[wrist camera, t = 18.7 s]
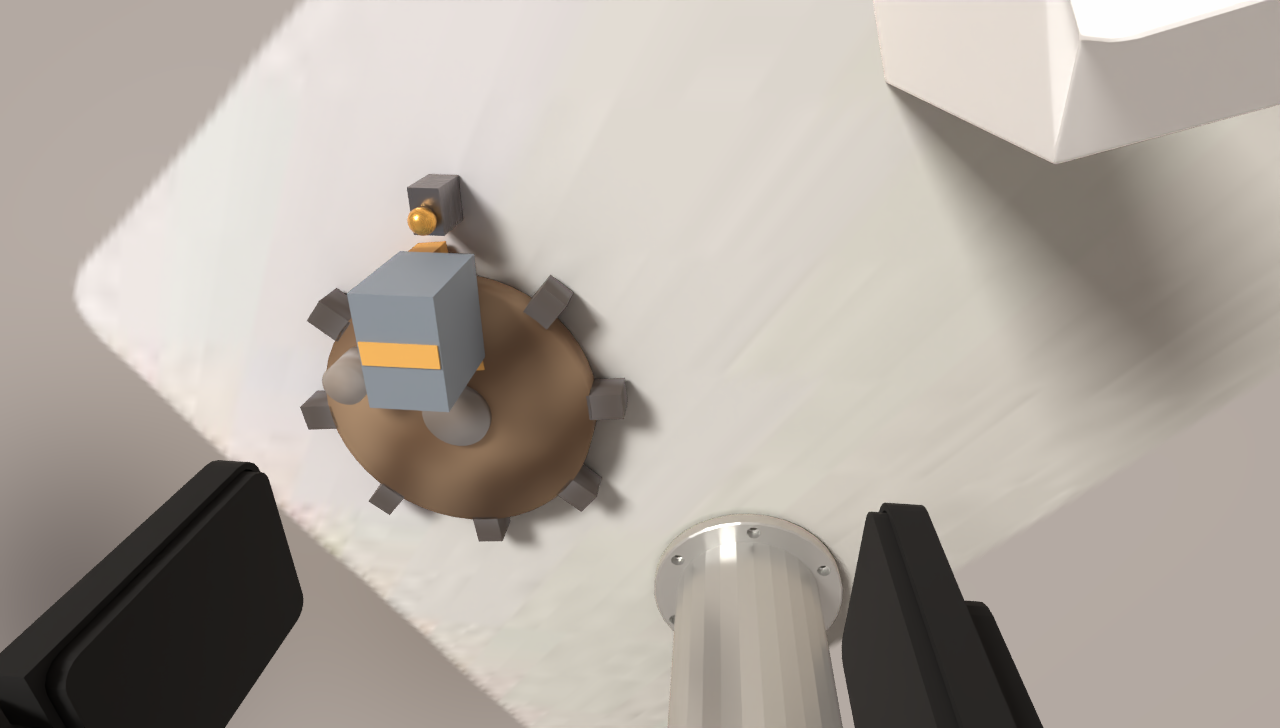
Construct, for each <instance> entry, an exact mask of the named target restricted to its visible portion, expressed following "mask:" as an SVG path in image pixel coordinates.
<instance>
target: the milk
mask: <svg viewBox="0 0 1280 728" xmlns="http://www.w3.org/2000/svg"><path fill="white" fill-rule="evenodd" d="M873 5H874V12H875V18H876V25H877V31H878V38H879V44H880V51H881V57H882V64H883V70H884V77H885V81H886V82H887V83H888V84H890V85H893V86H895V87H897V88H899V89H901V90H903V91H905V92H907V93H909V94H911V95H913V96H915V97H917V98H919V99H921V100H923V101H925V102H927V103H929V104H932V105H934V106H936V107H938V108H940V109H942V110H944V111H946V112H948V113H950V114H952V115H954V116H956V117H958V118H960V119H962V120H964V121H966V122H969V123H971V124H973V125H975V126H977V127H979V128H981V129H983V130H985V131H987V132H989V133H991V134H993V135H995V136H997V137H999V138H1001V139H1003V140H1005V141H1008V142H1010V143H1012V144H1014V145H1016V146H1018V147H1020V148H1022V149H1024V150H1026V151H1028V152H1030V153H1032V154H1034V155H1036V156H1038V157H1040V158H1042V159H1045V160H1047V161H1049V162H1051V163H1053V164H1059V163H1064V162H1067V161H1071V160H1075V159H1078V158H1082V157H1086V156H1090V155H1093V154H1097V153H1101V152H1105V151H1108V150H1112V149H1116V148H1119V147H1123V146H1127V145H1131V144H1134V143H1138V142H1142V141H1145V140H1149V139H1153V138H1157V137H1160V136H1164V135H1168V134H1172V133H1175V132H1179V131H1183V130H1186V129H1190V128H1194V127H1198V126H1201V125H1205V124H1209V123H1213V122H1216V121H1220V120H1224V119H1227V118H1231V117H1235V116H1239V115H1242V114H1246V113H1250V112H1253V111H1257V110H1261V109H1265V108H1268V107H1272V106H1276V105H1280V0H873Z"/></svg>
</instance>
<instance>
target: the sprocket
mask: <svg viewBox="0 0 1280 728" xmlns="http://www.w3.org/2000/svg"><path fill="white" fill-rule="evenodd" d="M408 252H432V253H448V249H447V244H446V241H443V242H429V243H418V244H417V245H415V246H414V247H413V248H412V249H411V250H409V251H408ZM476 277H477V286H478V295H479V304H480V314H481V323H482V332H483V341H484V350H485V358H484V359H483V361H482V362H481V364H480V365H479V367H478V368H477V370H476V372H475V373H474V375H473V376H472V378H471V379H470V381H469V382H468V384H467V385H466V387H465V389H464V390H463V392H462V393H461V395H460V396H459V398H458V399H457V401H456V402H455V404H454V405H453V407H452V409H451V410H450V412H436V411H419V410H401V409H383V408H370V406H369V401H368V396H367V391H366V386H365V381H364V377H363V372H362V367H361V362H360V357H359V352H358V347H357V342H356V337H355V332H354V327H353V322H352V317H351V312H350V307H349V302H348V297H347V295H346V294H344V293H343V292H342V291H340V290H339V289H337V288H336V289H335V290H333V291H332V292H331V293H329V294H328V295H327V296H325V297H324V298H323V299H321V300H320V301H319V302H318V304H317V306H316V307H315V309H314V310H313V312H312V313H311V315H310V317H309V318H308V320H307V321H308V322H309V323H311V324H312V325H314V326H315V327H316V328H318V329H319V330H321V331H322V332H324V333H325V334H327V335H328V336H329V337H331V338H332V339H334V340H335V342H334V344H333V347H332V350H331V353H330V356H329V359H328V365H327V370H326V372H325V373H324V375H323V378H322V383H323V387H324V389H325V391H316V392H315V393H314V394H313V395H312V396H311V397H310V398H309V399H308V400H307V401H306V402H305V403H304V404H303V405H302V406H301V407H300V408H301V410H302V413H303V416H304V419H305V421H306V424H307V427H308V429H309V430H310V429H337V431H338V433H339V434H340V436H341V438H342V440H343V441H344V443H345V445H346V447H347V448H348V449H349V451H350V452H351V453H352V455H353V456H354V457H355V459H356V460H357V461H358V462H359V463H360V464H361V465H362V466H363V468H364V469H365V470H366V471H367V472H368V473H369V474H371V475H372V476H373V477H374V478H375V479H376V480H377V481H378V482H380V483H381V484H380V486H379V487H378V488H377V490H376V491H375V493H374V494H373V496H372V497H371V498H370V500H369V502H370V503H372V504H373V505H375V506H377V507H378V508H380V509H381V510H383V511H384V512H386V513H387V514H389V515H390V514H391V513H392V512H393V510H394V509H395V508H396V507H397V506H398V504H399V503H400V502H401V501H402V500H403V499H406V500H407V501H409V502H412V503H414V504H416V505H418V506H420V507H422V508H425V509H428V510H431V511H434V512H437V513H440V514H444V515H449V516H453V517H459V518H466V519H473V521H474V524H475V528H476V532H477V536H478V540H479V541H503V539H504V536H505V533H506V531H507V528H508V526H509V523H510V517H511V516H516V515H520V514H523V513H526V512H529V511H532V510H534V509H536V508H538V507H540V506H542V505H544V504H546V503H547V502H549V501H550V500H552V499H554V498H555V497H556V496H559V497H561V498H562V499H564V500H565V501H567V502H568V503H569V504H571V505H572V506H574V507H575V508H577V509H578V510H580V511H581V512H582V511H583V510H584V509H585V508H586V507H587V506H588V505H589V504H590V503H591V502H592V501H593V500H594V499H595V498H596V497H597V494H598V490H599V485H600V481H601V477H600V476H599V475H597V474H596V473H595V472H593V471H592V470H590V469H589V468H588V467H586V466H585V465H583V463H584V461H585V459H586V456H587V454H588V451H589V447H590V444H591V440H592V437H593V433H594V429H595V425H596V420H604V419H624V415H625V411H626V406H627V402H628V401H627V393H626V385H625V378H612V379H594V377H593V374H592V371H591V368H590V366H589V363H588V360H587V358H586V357H585V355H584V353H583V351H582V349H581V347H580V345H579V344H578V342H577V341H576V340H575V338H574V337H573V335H572V334H571V333H570V331H569V330H568V329H567V328H566V327H565V326H564V325H563V324H562V322H561V321H560V320H559V319H558V318H557V317H558V316H559V315H560V314H561V312H562V311H563V310H564V309H565V308H566V306H567V305H568V302H569V300H570V298H571V296H572V294H573V292H572V291H571V290H570V289H568V288H567V287H566V286H564V285H563V284H562V283H561V282H559V281H558V280H557V279H556V278H554V277H553V276H552V275H550V276H549V277H548V278H547V280H546V281H545V282H544V283H543V285H542V286H541V287H540V288H539V290H538V291H537V292H536V293H535V294H534V296H533V297H532V298H531V297H530V296H528V295H526V294H524V293H522V292H521V291H519V290H517V289H515V288H513V287H511V286H508V285H506V284H503V283H500V282H498V281H495V280H492V279H488V278H484V277H480V276H476Z"/></svg>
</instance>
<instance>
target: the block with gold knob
mask: <svg viewBox="0 0 1280 728" xmlns="http://www.w3.org/2000/svg"><path fill="white" fill-rule="evenodd" d="M407 191H408V198H409V205H410V213H409V215H408V220H407V221H408V226H409V228H410V229H411V230H412V231H413V232H414V235H422V236H425V235H435V236H445V235H446V234H447V233H448V232H449V231H451V230H452V229H453V228H454V227H455V226H456V225H457V224H459V223H460V222H461V221H462V220H463V213H462V204H461V195H460V186H459V177H458V175H439V174H428V175H427V176H425V177H424V178H422V179H420V180H419V181H417V182H415V183H414V184H412V185H410V186H409V187H407Z"/></svg>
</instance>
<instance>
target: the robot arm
mask: <svg viewBox="0 0 1280 728" xmlns="http://www.w3.org/2000/svg"><path fill="white" fill-rule="evenodd" d="M842 593H843V588H842V583H841V577H840V573H839V570H838V567H837V564H836V561H835V559H834V558H833V556H832V555H831V553H830V552H829V550H828V548H827V547H826V546H825V545H824V544H823V543H822V542H821V541H820V540H819V539H818V538H817V537H815V536H814V535H812V534H811V533H809V532H808V531H806V530H805V529H803V528H802V527H799V526H797V525H795V524H793V523H790V522H788V521H786V520H782V519H778V518H774V517H771V516H765V515H755V514H735V515H727V516H722V517H717V518H712V519H709V520H707V521H704V522H701V523H699V524H696V525H694V526H693V527H691V528H689V529H688V530H686V531H684V532H683V533H681V534H680V535H679V536H678V537H677V538H676V539H674V540H673V541H672V542H671V543H670V544H669V546H668V547H667V549H666V550H665V551H664V553H663V554H662V556H661V558H660V561H659V563H658V566H657V570H656V576H655V592H654V595H655V599H656V603H657V607H658V609H659V611H660V613H661V615H662V617H663V619H664V621H665V622H666V623H667V624H668V626H669V627H670V628H671V629H672V630H673V631H674V639H673V654H672V669H671V684H670V699H669V713H668V728H843V727H842V721H841V715H840V710H839V704H838V698H837V693H836V687H835V681H834V675H833V669H832V664H831V658H830V652H829V646H828V640H827V635H826V631H827V630H828V629H829V628H830V627H831V625H832V624H833V622H834V620H835V619H836V617H837V616H838V613H839V610H840V607H841V604H842ZM302 607H303V594H302V590H301V587H300V583H299V580H298V577H297V573H296V570H295V567H294V563H293V560H292V556H291V553H290V550H289V546H288V543H287V540H286V536H285V533H284V529H283V526H282V523H281V519H280V516H279V512H278V509H277V505H276V502H275V499H274V495H273V492H272V489H271V485H270V482H269V479H268V477H267V475H266V474H264V473H262V472H260V470H259V468H258V467H257V466H256V465H255V464H254V463H250V462H237V461H222V460H217V461H212V462H210V463H209V464H207V465H206V466H205V467H204V468H203V469H202V470H201V471H199V472H198V473H197V474H196V475H195V476H194V477H193V478H192V479H191V480H190V481H188V482H187V483H186V484H185V485H184V486H183V487H182V488H181V489H180V490H179V491H177V492H176V493H175V494H174V495H173V496H172V497H171V498H170V499H169V500H168V501H167V502H165V504H163V505H162V506H161V507H160V508H159V509H158V510H157V511H156V512H154V514H152V515H151V516H150V517H149V518H148V519H147V520H146V521H145V522H143V523H142V524H141V525H140V526H139V527H138V528H137V529H136V530H135V531H134V532H133V533H131V534H130V535H129V536H128V537H127V538H126V539H125V540H124V541H123V542H122V543H121V544H119V545H118V546H117V547H116V548H115V549H114V550H113V551H112V552H111V553H109V554H108V555H107V556H106V557H105V558H104V559H103V560H102V561H101V562H100V563H99V564H97V565H96V566H95V567H94V568H93V569H92V570H91V571H90V572H89V573H88V574H86V575H85V576H84V577H83V578H82V579H81V580H80V581H79V582H78V583H77V584H76V585H74V587H72V588H71V589H70V590H69V591H68V592H67V593H66V594H65V595H63V596H62V597H61V598H60V599H59V600H58V601H57V602H56V603H55V604H54V605H53V606H51V607H50V608H49V609H48V610H47V611H46V612H45V613H44V614H43V615H42V616H41V617H39V618H38V619H37V620H36V621H35V622H34V623H33V624H32V625H31V626H29V627H28V628H27V629H26V630H25V631H24V632H23V633H22V634H21V635H20V636H18V637H17V638H16V639H15V640H14V641H13V642H12V643H11V644H10V645H9V646H7V647H6V648H5V649H4V650H3V651H2V652H1V653H0V728H225V727H226V725H227V724H228V722H229V721H230V719H231V718H232V716H233V715H234V713H235V712H236V710H237V709H238V707H239V706H240V704H241V703H242V701H243V700H244V699H245V697H246V696H247V694H248V692H249V691H250V690H251V688H252V687H253V685H254V684H255V682H256V681H257V679H258V678H259V676H260V675H261V673H262V672H263V670H264V669H265V667H266V666H267V664H268V663H269V661H270V660H271V658H272V657H273V656H274V654H275V653H276V651H277V650H278V648H279V647H280V645H281V644H282V642H283V641H284V639H285V638H286V636H287V635H288V633H289V632H290V630H291V629H292V627H293V626H294V625H295V623H296V622H297V620H298V618H299V616H300V614H301V611H302ZM842 660H843V668H844V673H845V677H846V683H847V689H848V694H849V699H850V704H851V709H852V715H853V720H854V725H855V728H1043V726H1042V724H1041V722H1040V719H1039V717H1038V715H1037V713H1036V710H1035V708H1034V706H1033V704H1032V702H1031V699H1030V697H1029V695H1028V693H1027V690H1026V688H1025V686H1024V684H1023V681H1022V679H1021V677H1020V675H1019V673H1018V670H1017V668H1016V666H1015V664H1014V661H1013V659H1012V658H1011V655H1010V652H1009V650H1008V648H1007V646H1006V644H1005V641H1004V639H1003V637H1002V635H1001V633H1000V630H999V628H998V626H997V624H996V621H995V619H994V617H993V615H992V613H991V612H990V610H989V608H988V607H987V606H986V605H985V604H984V603H983V602H976V601H964V599H963V596H962V594H961V592H960V589H959V587H958V584H957V582H956V580H955V577H954V575H953V572H952V570H951V567H950V565H949V562H948V560H947V558H946V555H945V553H944V550H943V548H942V546H941V543H940V541H939V538H938V536H937V533H936V531H935V529H934V526H933V524H932V521H931V519H930V516H929V514H928V512H927V510H926V508H925V507H924V506H922V505H911V504H896V503H883V504H882V506H881V507H880V511H879V512H868V514H867V517H866V521H865V526H864V531H863V536H862V541H861V547H860V552H859V557H858V562H857V567H856V572H855V577H854V582H853V587H852V593H851V598H850V603H849V608H848V613H847V618H846V623H845V628H844V633H843V639H842Z"/></svg>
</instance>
